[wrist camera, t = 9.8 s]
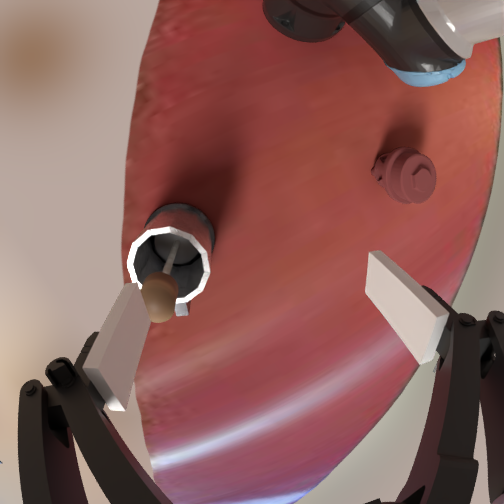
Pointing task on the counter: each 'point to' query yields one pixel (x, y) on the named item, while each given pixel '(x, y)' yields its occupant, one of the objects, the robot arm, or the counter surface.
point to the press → (186, 275)
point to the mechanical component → (406, 175)
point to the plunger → (165, 276)
